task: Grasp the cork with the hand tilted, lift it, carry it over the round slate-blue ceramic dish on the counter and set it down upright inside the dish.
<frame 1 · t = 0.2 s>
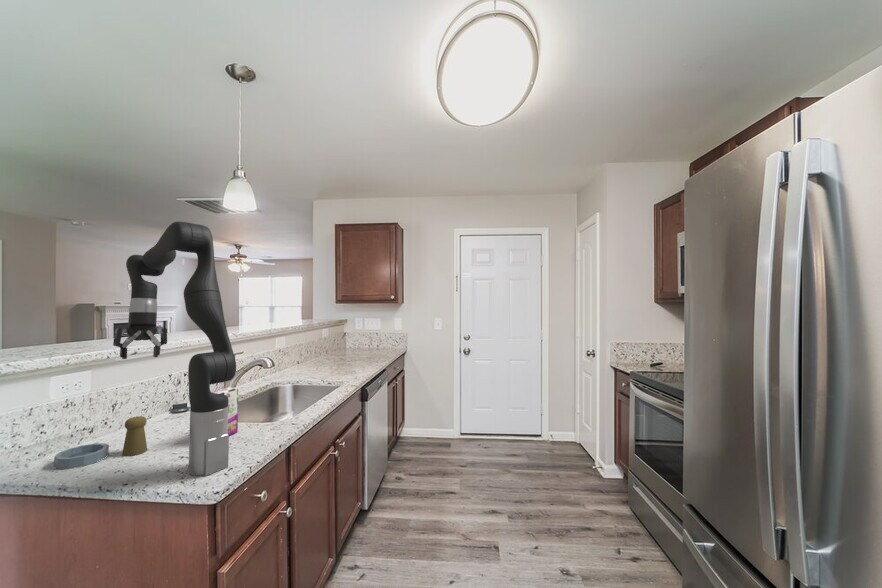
hand: (140, 357, 121), 28 cm above the worktop, tool pointing down, fingers open, 8 cm apart
cork: (134, 453, 110), on the worktop
candy bar box: (220, 438, 123), on the worktop
dish: (82, 460, 104), on the worktop
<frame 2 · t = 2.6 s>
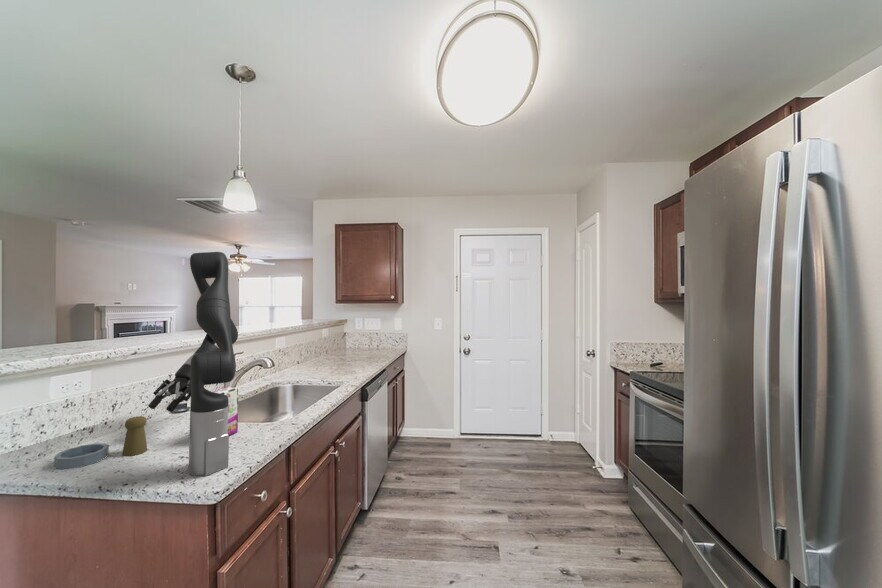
hand: (159, 409, 117), 12 cm above the worktop, tool tilted 45°, fingers open, 8 cm apart
nothing on the worktop moved.
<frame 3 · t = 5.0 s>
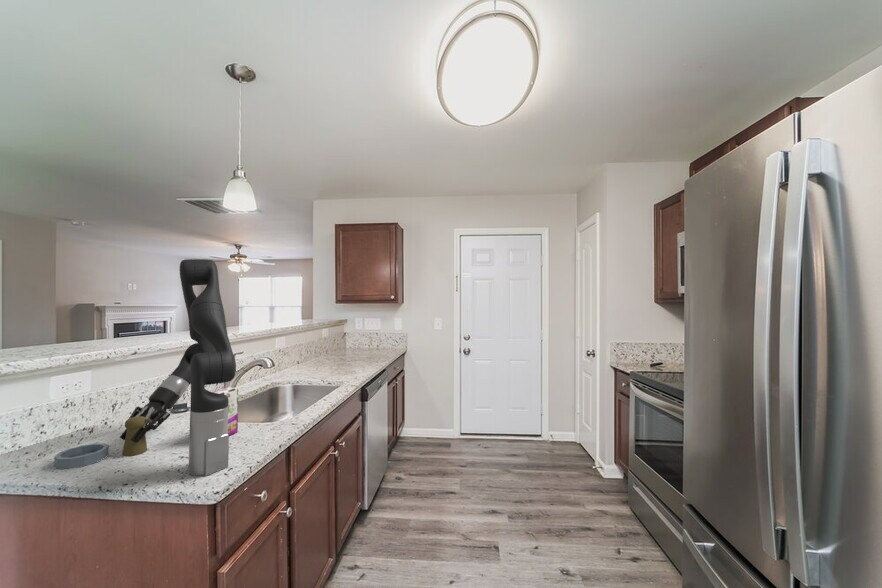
hand: (128, 439, 108), 5 cm above the worktop, tool tilted 45°, fingers closed on cork, 4 cm apart
cork: (134, 453, 110), on the worktop, touching gripper
everything else where it was.
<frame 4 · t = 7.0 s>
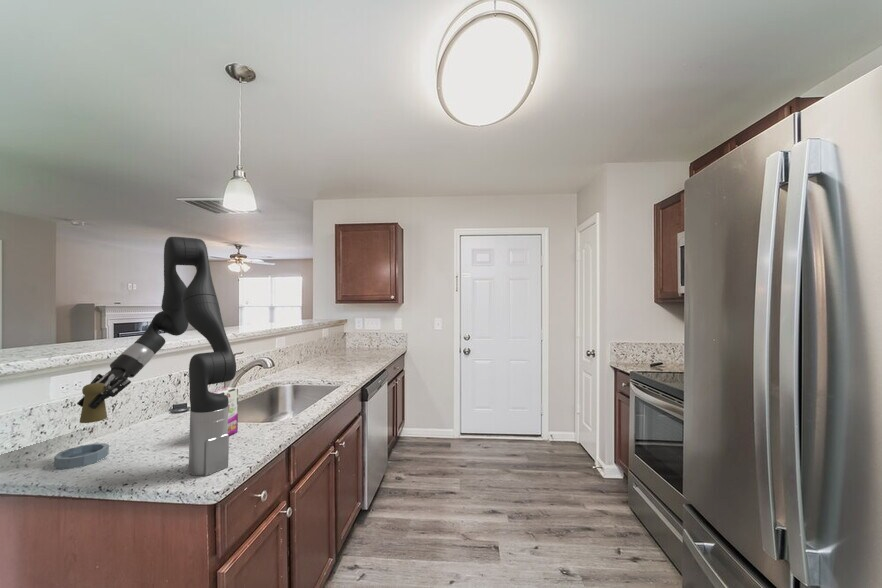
hand: (85, 406, 105), 16 cm above the worktop, tool tilted 45°, fingers closed on cork, 4 cm apart
cork: (93, 420, 106), point 11 cm above the worktop, touching gripper
everything else where it was.
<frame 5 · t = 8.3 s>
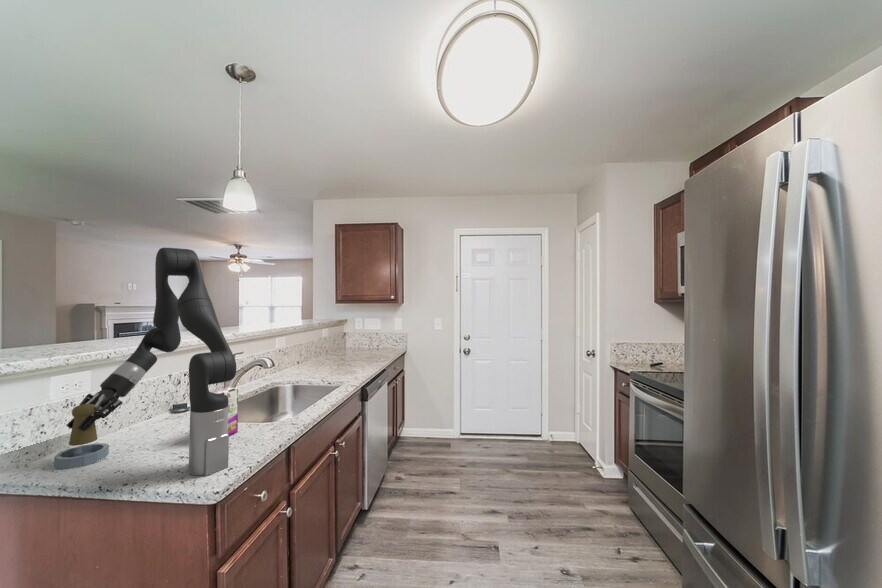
hand: (75, 428, 103), 10 cm above the worktop, tool tilted 45°, fingers closed on cork, 4 cm apart
cork: (83, 442, 105), point 5 cm above the worktop, touching gripper
everything else where it was.
when the fingers open (7 cm above the worktop, at t = 9.3 s): cork drops 2 cm, resting on dish.
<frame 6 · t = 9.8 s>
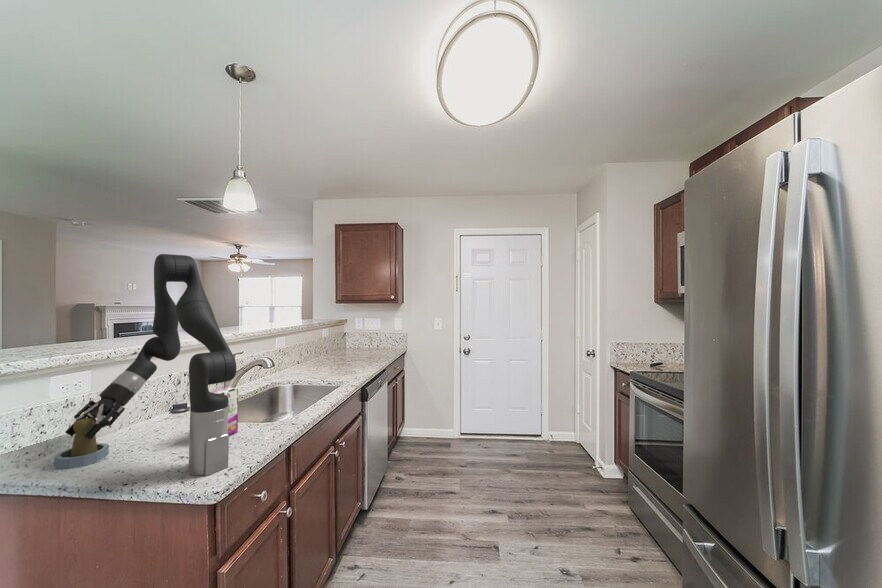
hand: (77, 436, 103), 8 cm above the worktop, tool tilted 45°, fingers open, 8 cm apart
cork: (84, 456, 106), point 1 cm above the worktop, touching dish
everything else where it was.
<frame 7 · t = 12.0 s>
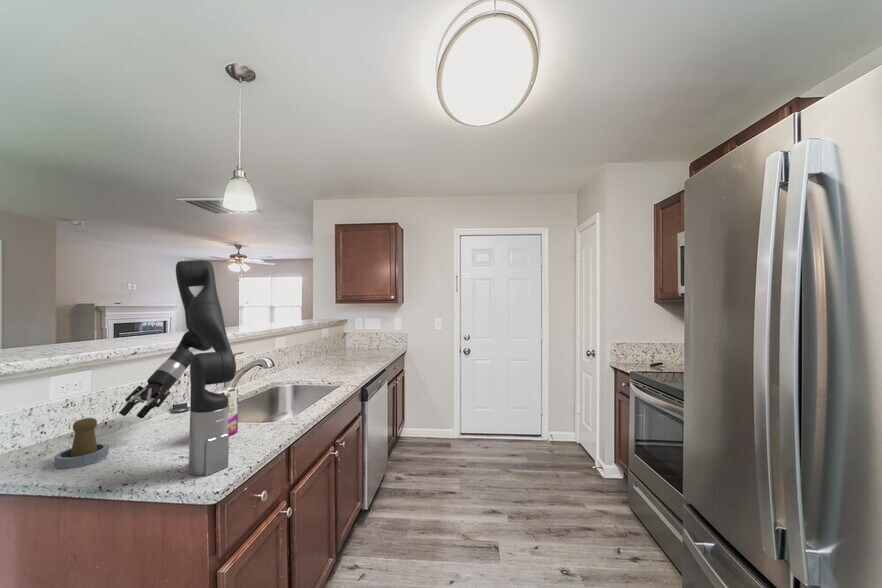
hand: (130, 415, 116), 9 cm above the worktop, tool tilted 45°, fingers open, 8 cm apart
nothing on the worktop moved.
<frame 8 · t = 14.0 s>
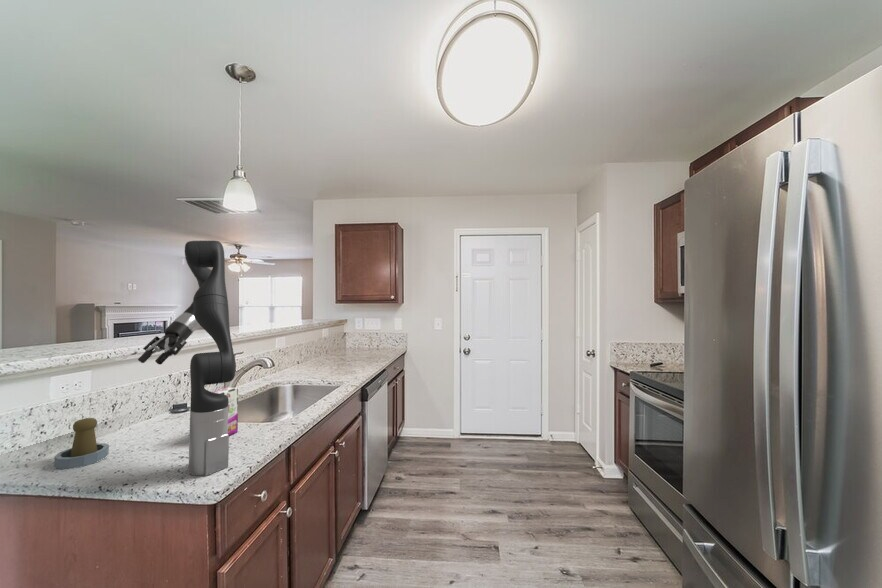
hand: (149, 362, 121), 27 cm above the worktop, tool tilted 45°, fingers open, 8 cm apart
nothing on the worktop moved.
at the end: cork inside the target area on the dish (1.4 cm from its centre), point 0.6 cm above the dish's base; cork tilted 0°; the gripper is holding nothing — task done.
